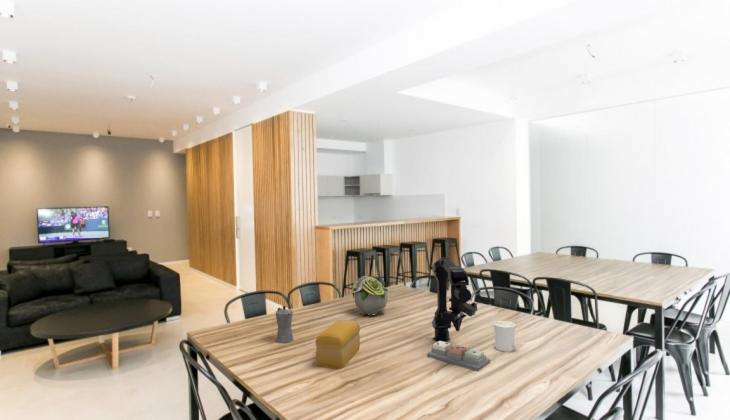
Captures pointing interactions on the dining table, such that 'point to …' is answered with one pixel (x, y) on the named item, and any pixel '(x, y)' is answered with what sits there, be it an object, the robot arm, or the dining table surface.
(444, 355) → the button board
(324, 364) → the bread
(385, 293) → the flower arrangement
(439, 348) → the tile two dots
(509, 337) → the candle holder
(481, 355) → the tile one dot
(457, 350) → the tile three dots
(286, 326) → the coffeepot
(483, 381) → the dining table surface
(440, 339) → the robot arm
